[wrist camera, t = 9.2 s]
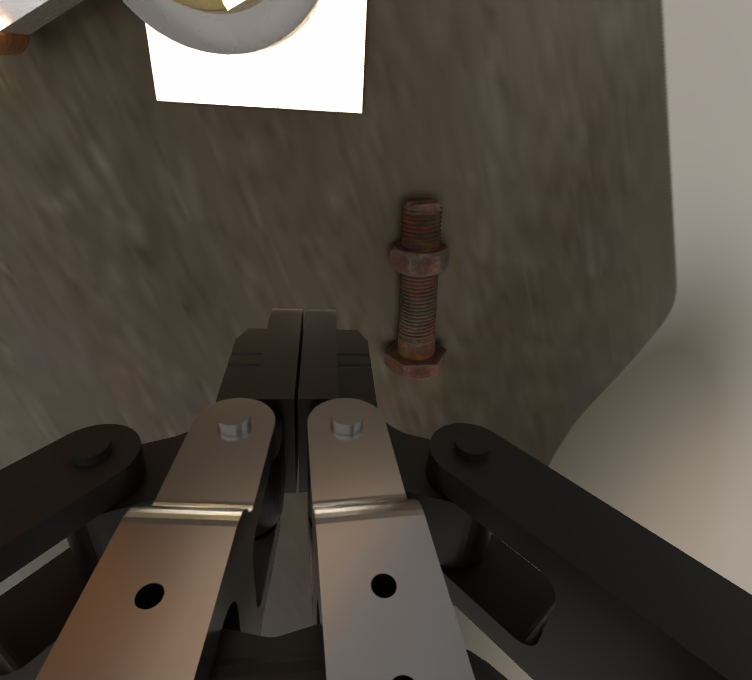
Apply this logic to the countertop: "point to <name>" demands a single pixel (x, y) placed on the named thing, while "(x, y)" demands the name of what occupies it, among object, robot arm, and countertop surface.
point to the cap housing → (259, 53)
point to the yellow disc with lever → (44, 3)
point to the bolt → (418, 291)
